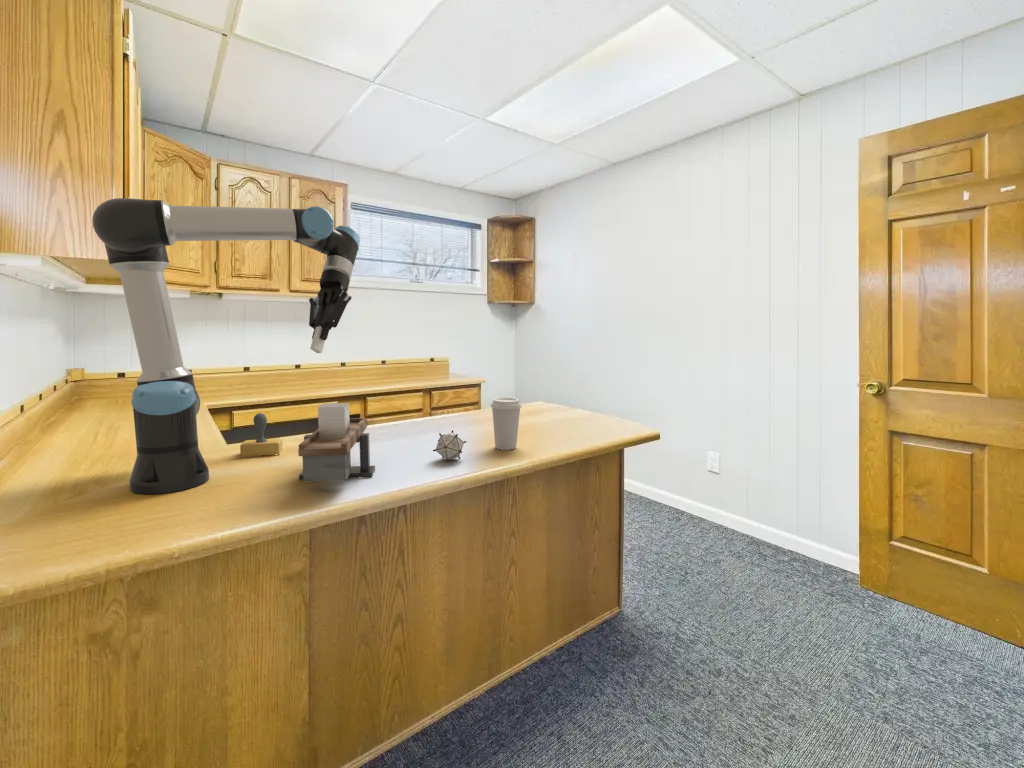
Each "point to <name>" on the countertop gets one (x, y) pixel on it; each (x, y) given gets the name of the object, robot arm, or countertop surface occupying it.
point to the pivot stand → (364, 467)
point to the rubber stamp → (260, 441)
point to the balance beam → (330, 454)
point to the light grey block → (333, 420)
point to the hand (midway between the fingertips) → (316, 350)
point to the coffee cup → (506, 422)
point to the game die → (449, 446)
